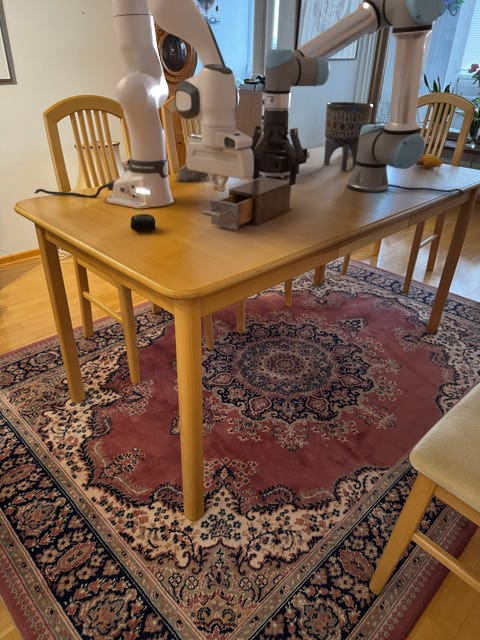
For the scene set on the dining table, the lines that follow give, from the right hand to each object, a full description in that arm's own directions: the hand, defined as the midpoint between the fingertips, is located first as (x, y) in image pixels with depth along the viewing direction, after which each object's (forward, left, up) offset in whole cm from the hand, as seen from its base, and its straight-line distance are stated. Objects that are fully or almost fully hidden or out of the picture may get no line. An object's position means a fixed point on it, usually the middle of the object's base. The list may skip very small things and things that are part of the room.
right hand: (273, 181), depth 146 cm
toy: (-72, -78, -9) cm, 107 cm away
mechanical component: (-3, -54, -9) cm, 55 cm away
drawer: (+11, +17, -8) cm, 22 cm away
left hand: (+15, +25, +3) cm, 29 cm away
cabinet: (+4, +6, -9) cm, 12 cm away
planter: (-31, -72, -9) cm, 79 cm away
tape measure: (+36, +27, -9) cm, 46 cm away
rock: (+32, -36, -9) cm, 49 cm away
